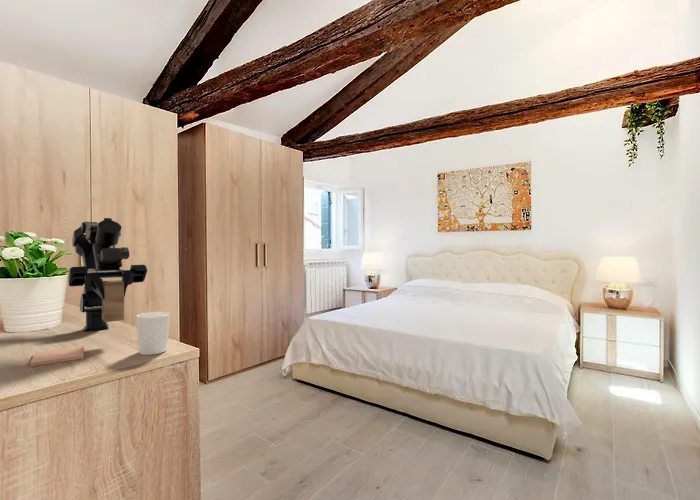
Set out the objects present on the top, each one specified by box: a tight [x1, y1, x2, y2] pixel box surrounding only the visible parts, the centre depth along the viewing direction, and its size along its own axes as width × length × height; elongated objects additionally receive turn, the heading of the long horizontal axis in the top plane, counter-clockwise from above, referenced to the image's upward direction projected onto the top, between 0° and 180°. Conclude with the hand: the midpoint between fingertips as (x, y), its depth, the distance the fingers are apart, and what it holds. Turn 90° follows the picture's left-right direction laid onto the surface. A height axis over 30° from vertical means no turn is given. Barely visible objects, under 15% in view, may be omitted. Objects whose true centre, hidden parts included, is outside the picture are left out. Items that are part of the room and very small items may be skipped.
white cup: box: [135, 311, 171, 356], centre depth 94 cm, size 8×8×10 cm
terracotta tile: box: [29, 345, 85, 367], centre depth 89 cm, size 10×10×1 cm
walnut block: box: [102, 279, 125, 323], centre depth 100 cm, size 4×4×11 cm
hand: (113, 297), depth 99 cm, fingers closed on walnut block, 4 cm apart
